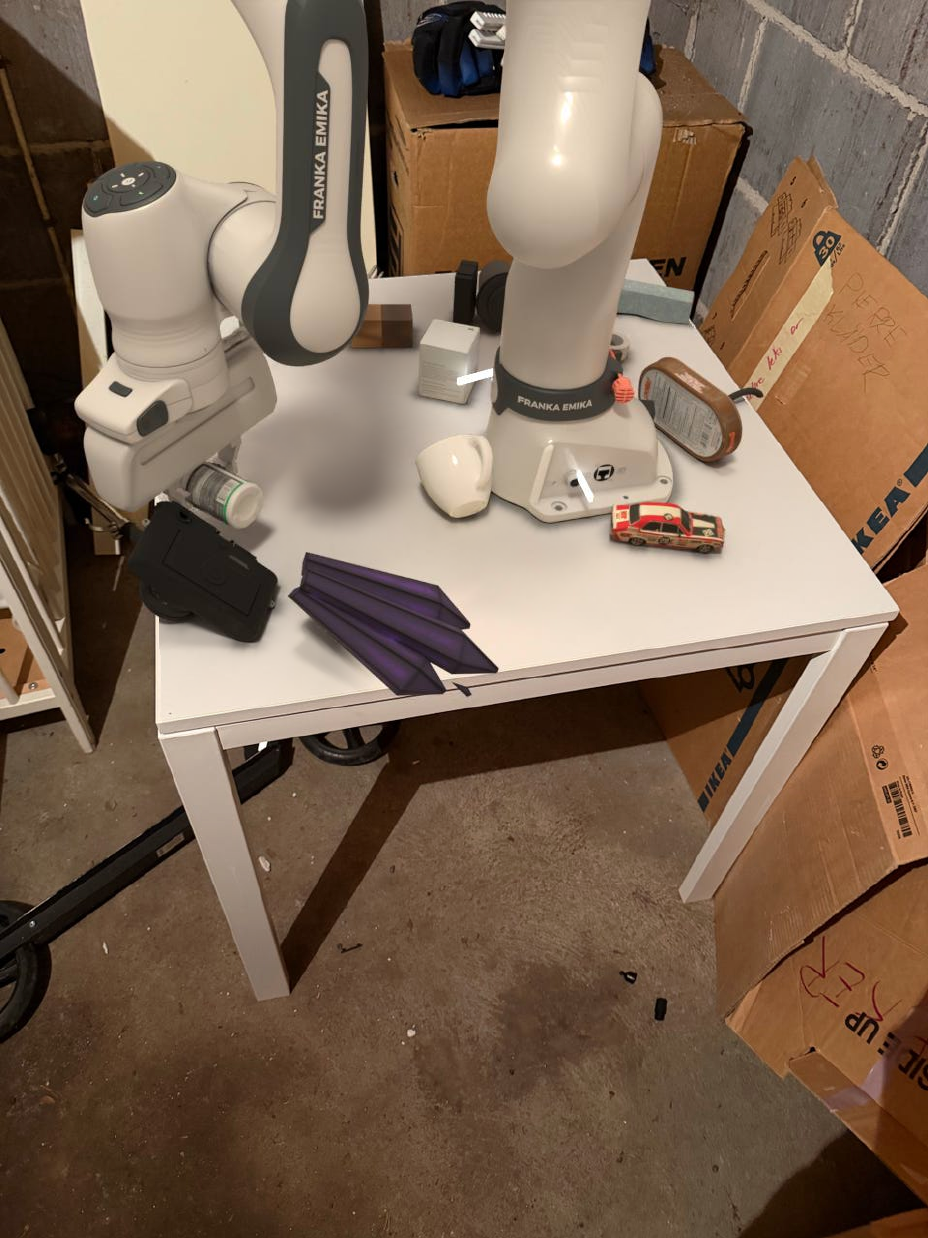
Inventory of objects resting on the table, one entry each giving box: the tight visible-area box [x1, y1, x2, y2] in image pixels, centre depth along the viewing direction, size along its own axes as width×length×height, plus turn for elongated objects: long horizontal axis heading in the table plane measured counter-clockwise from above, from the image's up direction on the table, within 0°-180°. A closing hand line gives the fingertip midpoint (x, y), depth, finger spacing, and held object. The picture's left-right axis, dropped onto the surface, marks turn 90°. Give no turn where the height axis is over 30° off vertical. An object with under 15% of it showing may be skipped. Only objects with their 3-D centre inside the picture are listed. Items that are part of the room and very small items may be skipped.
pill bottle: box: [179, 460, 264, 530], centre depth 86 cm, size 5×5×8 cm
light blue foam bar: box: [617, 278, 696, 325], centre depth 126 cm, size 23×7×3 cm
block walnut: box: [380, 303, 414, 349], centre depth 116 cm, size 4×4×4 cm
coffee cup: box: [475, 259, 512, 333], centre depth 120 cm, size 8×8×10 cm
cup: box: [414, 433, 493, 519], centre depth 93 cm, size 8×10×7 cm
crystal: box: [287, 551, 500, 698], centre depth 80 cm, size 7×12×20 cm
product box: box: [418, 318, 481, 405], centre depth 108 cm, size 6×6×7 cm
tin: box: [637, 356, 743, 462], centre depth 103 cm, size 15×3×8 cm, turn 34°
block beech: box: [350, 303, 382, 349], centre depth 116 cm, size 4×4×4 cm
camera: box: [126, 500, 279, 642], centre depth 82 cm, size 14×7×8 cm
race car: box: [610, 502, 726, 555], centre depth 93 cm, size 5×12×5 cm, turn 79°
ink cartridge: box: [452, 259, 479, 326], centre depth 118 cm, size 5×2×8 cm, turn 168°
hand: (205, 491), depth 87 cm, fingers closed on pill bottle, 5 cm apart
